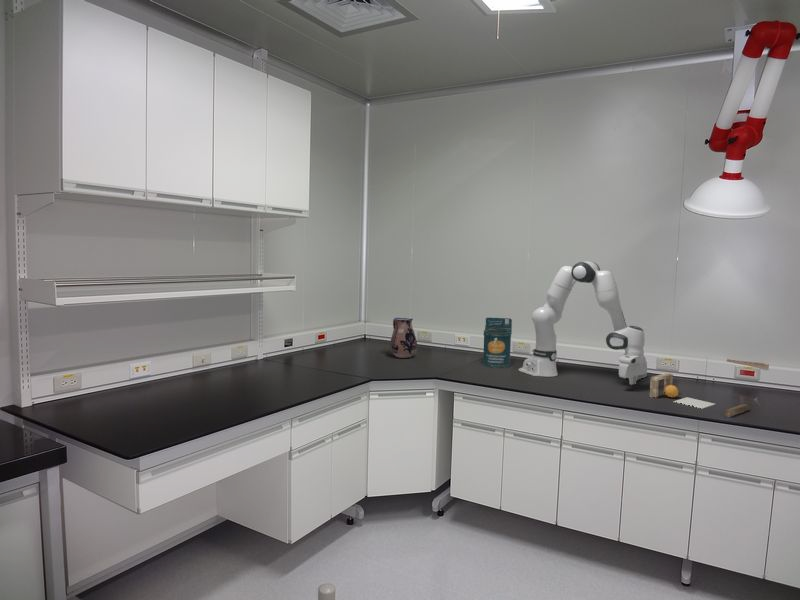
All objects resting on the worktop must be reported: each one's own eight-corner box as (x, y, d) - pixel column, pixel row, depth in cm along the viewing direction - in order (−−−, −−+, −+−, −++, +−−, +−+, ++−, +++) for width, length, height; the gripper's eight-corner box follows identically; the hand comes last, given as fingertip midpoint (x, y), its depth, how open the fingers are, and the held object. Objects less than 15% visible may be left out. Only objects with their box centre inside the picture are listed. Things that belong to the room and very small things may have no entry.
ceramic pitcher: (402, 360, 330) (402, 321, 328) (381, 355, 346) (381, 317, 344) (422, 357, 342) (423, 319, 339) (401, 352, 358) (401, 315, 355)
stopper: (724, 416, 227) (724, 410, 227) (742, 409, 238) (743, 403, 237) (729, 417, 226) (729, 411, 225) (747, 410, 236) (748, 404, 236)
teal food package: (510, 363, 328) (512, 318, 326) (509, 368, 313) (510, 322, 310) (484, 361, 332) (485, 317, 330) (481, 366, 317) (483, 320, 314)
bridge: (649, 396, 256) (650, 377, 255) (665, 392, 265) (667, 373, 264) (655, 398, 254) (656, 378, 253) (671, 393, 262) (673, 374, 261)
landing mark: (673, 401, 248) (673, 401, 248) (687, 397, 255) (687, 397, 255) (701, 408, 237) (701, 408, 237) (715, 404, 245) (715, 403, 245)
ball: (660, 387, 256) (671, 384, 252) (666, 385, 260) (678, 383, 255) (664, 399, 255) (676, 397, 250) (670, 397, 258) (682, 395, 254)
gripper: (639, 354, 278) (638, 380, 280) (617, 358, 267) (615, 385, 268) (651, 356, 273) (649, 382, 275) (628, 361, 262) (627, 388, 263)
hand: (632, 384), depth 271 cm, fingers closed
